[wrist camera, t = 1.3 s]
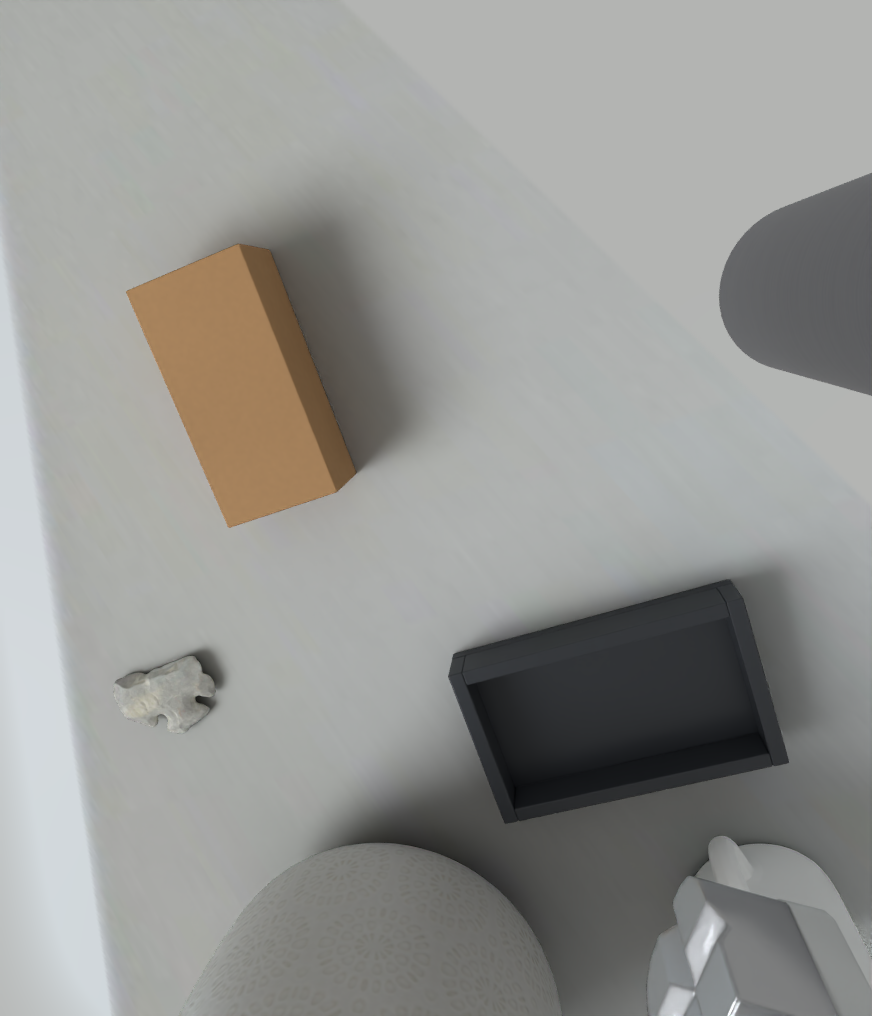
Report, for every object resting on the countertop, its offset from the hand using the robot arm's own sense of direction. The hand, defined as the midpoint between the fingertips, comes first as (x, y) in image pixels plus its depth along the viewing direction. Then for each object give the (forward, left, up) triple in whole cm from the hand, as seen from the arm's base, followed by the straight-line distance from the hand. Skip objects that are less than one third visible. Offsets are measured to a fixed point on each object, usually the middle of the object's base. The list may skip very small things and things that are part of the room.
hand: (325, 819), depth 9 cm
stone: (+22, +12, -30) cm, 39 cm away
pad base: (-1, +16, -30) cm, 35 cm away
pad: (+11, -6, -30) cm, 33 cm away
